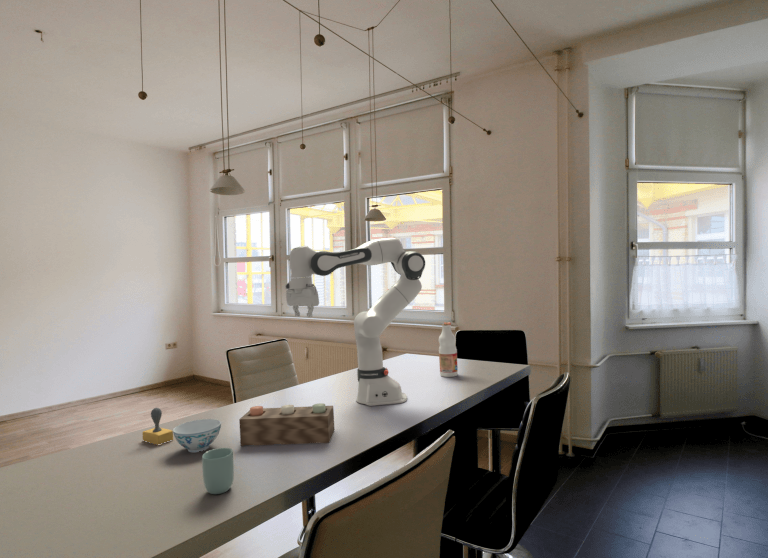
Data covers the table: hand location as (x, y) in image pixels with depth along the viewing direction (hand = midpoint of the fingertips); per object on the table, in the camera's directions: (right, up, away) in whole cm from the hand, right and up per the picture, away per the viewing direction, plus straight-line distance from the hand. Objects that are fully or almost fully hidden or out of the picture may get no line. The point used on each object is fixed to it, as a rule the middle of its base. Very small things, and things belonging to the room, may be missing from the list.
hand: (303, 316), depth 193 cm
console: (+1, -39, -35) cm, 53 cm away
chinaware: (-28, -41, -41) cm, 64 cm away
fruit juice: (+69, -35, +48) cm, 91 cm away
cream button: (+1, -32, -35) cm, 47 cm away
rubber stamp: (-47, -42, -31) cm, 70 cm away
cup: (-9, -40, -72) cm, 83 cm away
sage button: (+12, -31, -35) cm, 49 cm away
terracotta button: (-10, -32, -34) cm, 48 cm away
